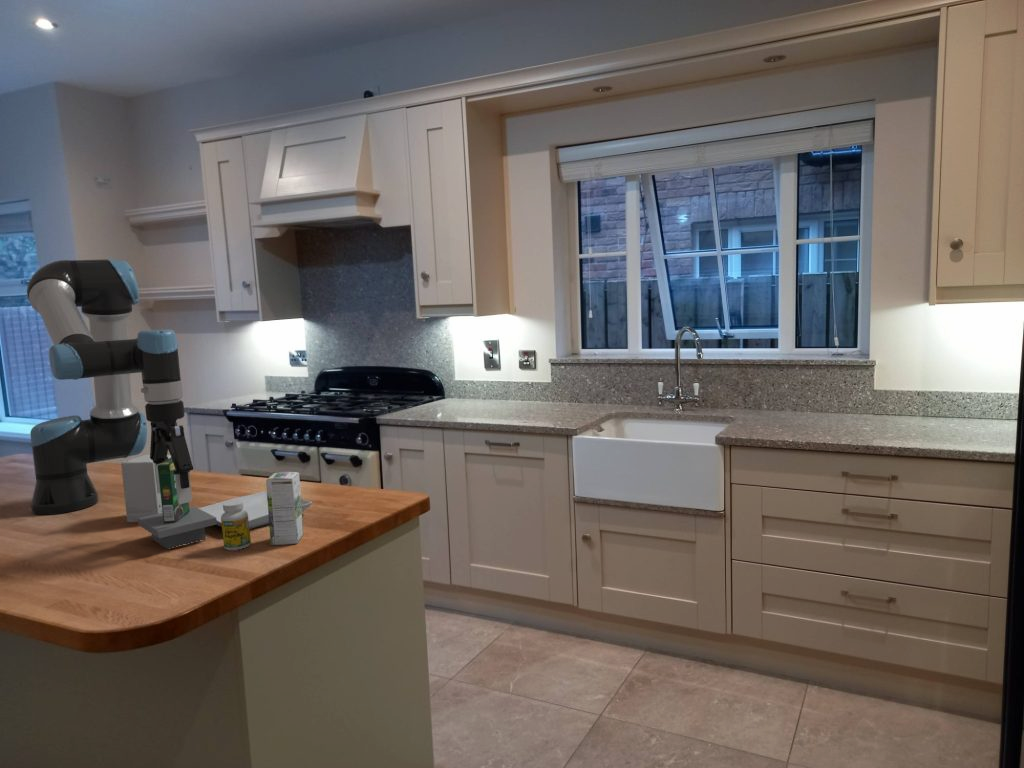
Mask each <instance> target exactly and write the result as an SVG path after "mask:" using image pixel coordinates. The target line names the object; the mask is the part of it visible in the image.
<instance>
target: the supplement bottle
mask: <svg viewBox="0 0 1024 768" xmlns="http://www.w3.org/2000/svg"><path fill="white" fill-rule="evenodd" d="M243 507H244V506H243V501H240V500H236V501H229V502H226V503H224V504H223V510H224V511H225V513H223V514H222V516H221V523H222V527H221V532H222V538H223V547H224V549H225V550H226V549H227V551H238V550H237V549H240V550H243V549H242V548H244V549H246V547H247V548H248V547H250V545H251V543H252V540H251V531H250V530H251V529H249V521H248V513H247V512H246V511H245V510H243Z"/></svg>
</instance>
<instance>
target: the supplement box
mask: <svg viewBox="0 0 1024 768" xmlns="http://www.w3.org/2000/svg"><path fill="white" fill-rule="evenodd" d="M167 457H168V459H169V458H171V455H170V453H169V454H167ZM120 465H121V472H122V473H121V474H122V484H123V492H124V493H123V495H124V503H125V513H126V523H138V518H142V517H146V516H150V515H155V514H159V513H163V512H162V503H161V494H160V493H157V485H156V476H155V467H154V465H155V464H154V463H153V460H151V459H150V454H143V455H141V456H138V457H134V458H131V459H128V460H125V461H122V462H121V464H120Z"/></svg>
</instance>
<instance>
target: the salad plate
mask: <svg viewBox="0 0 1024 768" xmlns="http://www.w3.org/2000/svg"><path fill="white" fill-rule="evenodd" d="M236 500H240V501H243V506H244V507H243V510H245V511H246V512H247V513H248V521H249V530H251V529H256V528H259V527H262V526H266V525H269V515H268V501H267V490H265V491H260V492H257V493H256V492H255V493H252V494H247V495H243V496H239V497H235V498H231V499H227V500H224V501H220V502H217V503H212V504H210V505H206V506H202V507H198V508H199V509H200V510H202V511H204V512H206V513H208V514H210V515H212V516H214V517H216V521H217V524H216V525H215V526H218V527H221V528H222V523H221V516H222V514H223V513H225V511H224V510H223V504H224V503H226V502H229V501H236ZM312 504H313V502H312V501H310V500H307V499H303V498H301V506H302V513H303V512H304V511H306V510H308V509H309V508H310V507H311V505H312Z"/></svg>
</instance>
